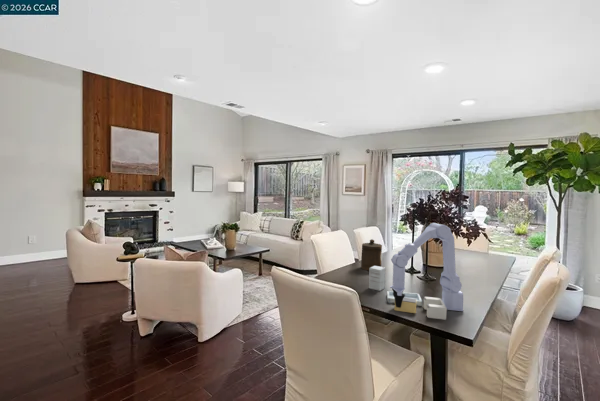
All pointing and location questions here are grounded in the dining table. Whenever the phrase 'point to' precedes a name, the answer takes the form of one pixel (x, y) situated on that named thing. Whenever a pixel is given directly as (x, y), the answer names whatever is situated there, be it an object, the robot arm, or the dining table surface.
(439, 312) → the bay
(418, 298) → the tray
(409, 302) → the yellow rectangular block
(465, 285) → the dining table surface
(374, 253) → the wooden container
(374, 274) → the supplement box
